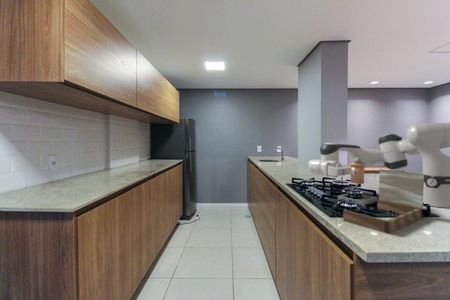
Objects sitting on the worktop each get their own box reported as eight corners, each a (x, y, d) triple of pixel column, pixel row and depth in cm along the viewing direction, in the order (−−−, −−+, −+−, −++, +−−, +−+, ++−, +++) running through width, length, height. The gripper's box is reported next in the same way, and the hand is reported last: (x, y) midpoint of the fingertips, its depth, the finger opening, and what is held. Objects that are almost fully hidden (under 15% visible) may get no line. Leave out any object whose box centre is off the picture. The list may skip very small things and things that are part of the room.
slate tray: (351, 197, 136) (351, 192, 136) (377, 202, 126) (377, 197, 125) (337, 200, 129) (337, 195, 129) (363, 206, 118) (363, 201, 118)
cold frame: (379, 208, 116) (380, 169, 114) (422, 217, 102) (424, 173, 101) (343, 220, 100) (344, 175, 99) (388, 233, 86) (390, 181, 85)
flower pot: (354, 180, 132) (354, 156, 131) (367, 182, 126) (368, 157, 125) (346, 182, 128) (347, 157, 127) (360, 184, 122) (360, 158, 121)
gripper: (344, 172, 143) (369, 176, 132) (322, 176, 132) (347, 180, 120) (345, 161, 143) (370, 164, 131) (322, 164, 132) (348, 167, 120)
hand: (359, 171), depth 126 cm, fingers closed on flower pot, 6 cm apart
